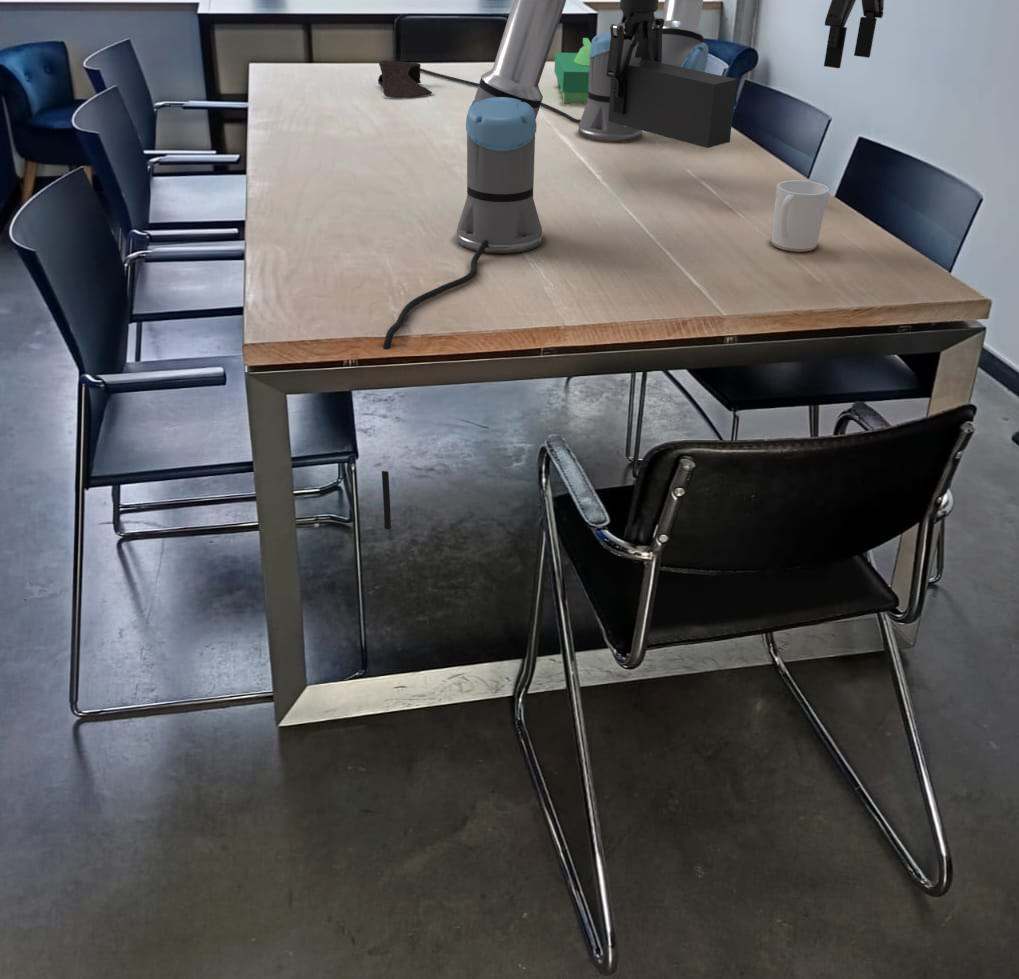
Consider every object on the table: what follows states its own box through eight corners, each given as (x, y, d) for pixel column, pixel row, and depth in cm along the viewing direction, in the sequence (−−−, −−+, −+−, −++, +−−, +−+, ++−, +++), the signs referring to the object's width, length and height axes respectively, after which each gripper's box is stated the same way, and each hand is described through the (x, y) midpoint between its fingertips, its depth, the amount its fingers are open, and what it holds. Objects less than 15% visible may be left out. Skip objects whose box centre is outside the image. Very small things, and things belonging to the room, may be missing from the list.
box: (729, 142, 216) (737, 79, 209) (707, 148, 212) (714, 84, 205) (630, 116, 232) (634, 56, 226) (608, 121, 228) (611, 61, 222)
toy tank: (615, 34, 312) (632, 57, 283) (611, 79, 319) (628, 107, 289) (553, 33, 311) (564, 56, 282) (551, 78, 318) (562, 105, 288)
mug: (783, 233, 202) (791, 177, 197) (827, 243, 197) (837, 187, 192) (754, 247, 195) (762, 190, 189) (799, 259, 190) (809, 200, 185)
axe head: (443, 87, 294) (392, 77, 287) (436, 115, 299) (385, 106, 292) (421, 62, 307) (371, 52, 300) (414, 89, 311) (365, 80, 304)
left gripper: (876, -78, 194) (854, 49, 205) (818, -70, 177) (798, 68, 188) (918, -75, 190) (893, 54, 201) (863, -67, 173) (839, 74, 184)
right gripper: (658, -18, 222) (649, 99, 235) (591, -9, 211) (585, 113, 223) (687, -14, 218) (676, 105, 230) (620, -4, 206) (612, 121, 219)
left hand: (847, 61), depth 194 cm, fingers open, 13 cm apart
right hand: (631, 109), depth 227 cm, fingers closed on box, 7 cm apart
